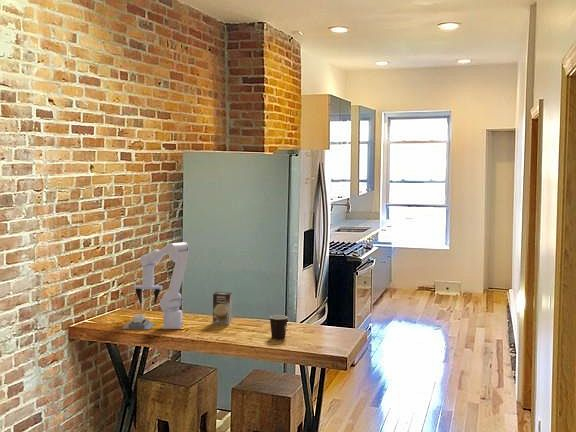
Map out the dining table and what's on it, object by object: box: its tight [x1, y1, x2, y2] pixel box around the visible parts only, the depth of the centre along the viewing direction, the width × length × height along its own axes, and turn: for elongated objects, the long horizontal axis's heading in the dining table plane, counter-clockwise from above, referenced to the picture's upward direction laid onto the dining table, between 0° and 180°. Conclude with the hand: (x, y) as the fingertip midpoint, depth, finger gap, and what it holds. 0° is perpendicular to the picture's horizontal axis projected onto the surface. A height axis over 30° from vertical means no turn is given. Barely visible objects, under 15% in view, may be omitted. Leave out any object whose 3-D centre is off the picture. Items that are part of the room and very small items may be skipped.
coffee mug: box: [269, 314, 288, 340], centre depth 314 cm, size 12×9×10 cm
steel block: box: [132, 313, 146, 324], centre depth 332 cm, size 7×4×5 cm, turn 0°
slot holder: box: [121, 318, 156, 331], centre depth 332 cm, size 14×13×2 cm
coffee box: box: [211, 291, 233, 326], centre depth 341 cm, size 9×6×16 cm
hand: (148, 303), depth 343 cm, fingers open, 7 cm apart
